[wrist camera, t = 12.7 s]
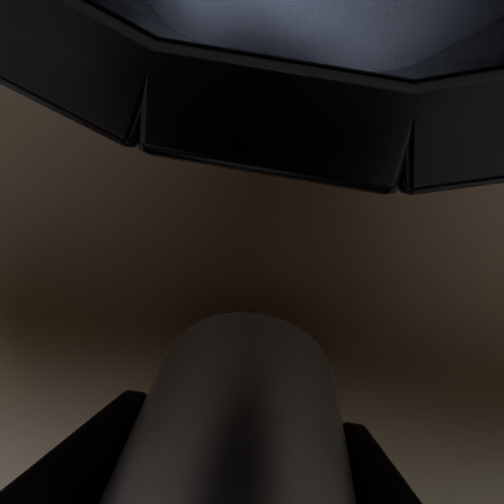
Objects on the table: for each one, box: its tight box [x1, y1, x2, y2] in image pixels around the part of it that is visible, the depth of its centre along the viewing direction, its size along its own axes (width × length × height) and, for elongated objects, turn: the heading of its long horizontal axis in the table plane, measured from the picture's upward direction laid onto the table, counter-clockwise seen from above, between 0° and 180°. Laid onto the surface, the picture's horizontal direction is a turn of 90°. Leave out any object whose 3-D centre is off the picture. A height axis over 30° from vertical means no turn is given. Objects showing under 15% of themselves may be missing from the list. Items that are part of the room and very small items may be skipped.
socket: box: [99, 312, 357, 504], centre depth 7 cm, size 4×4×5 cm
